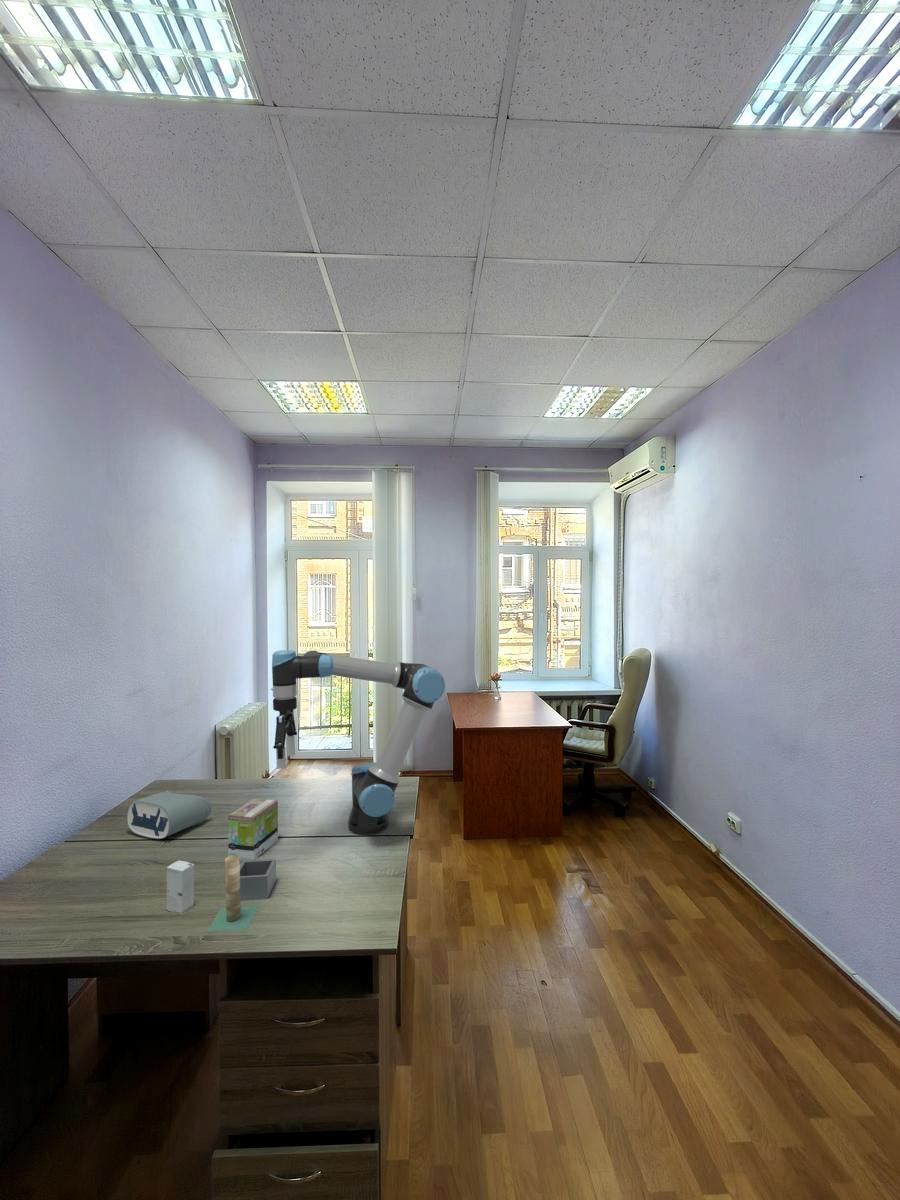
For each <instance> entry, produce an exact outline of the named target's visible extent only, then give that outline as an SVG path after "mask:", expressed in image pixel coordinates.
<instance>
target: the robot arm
mask: <svg viewBox="0 0 900 1200" xmlns="http://www.w3.org/2000/svg"><path fill="white" fill-rule="evenodd" d="M271 659H272V660H271V673H272V674H271V675H272V676H271V678H272V687H271V688H270V690H271V691H272V697H273V700H272V709H273V711H275V712H278V714H279V715H277V716H276V718H275V719H276V720H275V721H276V722H275V723H276V725H275V726H276V727H275V736H274V745H273V749H274V750H276V753H275V754H276V756H275V757H276V769H277V770H278V769H286V768H287V762H286V760H287V756H295V755H296V739H295V737H296V736H297V735H298V731H297V727H296V722H295V715H294V714H295V713H294V710H296V709H297V708H298V703H297V701H298V699H297V697H296V696H297V694H298V692H297V688H298V687H297V679H313V678H326V677H327V678H328V677H331V676H335V677H340V678H341V677H343V678H347V679H348V678H349V679H355V680H362V681H369V682H376V683H382V684H388V685H391V686H392V687H393V688H398V689H402V690H403V693H402V695H401V697H402V700H403V703H402V704H401V708H400V709H399V710H398V711H399V712H398V713H397V715H396V718H395V720H394V723H393V725H392V727H391V729H390V731H389V734H388V735H387V737H386V740H385V742H384V745H383V747H382V748H381V751H380V753H379V755H378V758H377V760H376V762H374V761H373V762H363V763H358V764H355V765H353V767H352V768H351V773H350V775H351V793H352V796H351V797H352V799H351V800H352V801H351V803H352V806H351V807H352V808H351V810H350V814H349V818H348V821H347V828H348V830H349V832H351V833H353V834H357V835H364V836H365V835H368V836H369V835H374V834H377V833H381V832H383V831H385V830H386V829H387V828H388V827H389V825H390V817H389V815H388V813H389V812H390V811H391V810H392V809H393V806H394V805H395V801H396V800H395V798H396V797H395V791H396V789H397V787H398V785H399V782H400V780H399V777H398V774H399V772H400V769H401V768H402V765H403V763H404V761H405V759H406V756H407V754H408V752H409V750H410V747H411V745H412V743H413V741H414V739H415V737H416V734H417V731H418V730H419V728H420V724H421V723H422V721H423V718H424V716H425V714H426V712H428V711H431V710H432V709H433V706H434V705H435V703H436V702H437V701H439V699H441V697H442V696H443V695H444V692H445V689H446V684H445V683H446V681H445V679H444V677H443V675H442V674H441V672H439V670H437V669H436V668H434V667H431V666H428V665H426V664H424V663H414V662H413V663H410V662H400V661H398V662H396V663H391V662H390V663H388V662H384V661H376V660H371V659H365V658H364V659H363V658H357V657H352V656H346V655H339V654H334V653H333V654H332V653H326V652H320V651H317V650H308V651H307V652H305V653H304V654H303V655H297V652H296V651H295V650H294V649H283V650H276V651H273V653H272V658H271ZM285 746H286V747H285Z"/></svg>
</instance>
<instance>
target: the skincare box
mask: <svg viewBox="0 0 900 1200" xmlns="http://www.w3.org/2000/svg"><path fill="white" fill-rule="evenodd" d="M194 901H195V864H194V863H191V862H188V861H183V860H177V861H175V862H173V863H171V864H170V865H168V866H167V867H166V911H167V912H171V913H173V912H176V913H181V914H182V913H184V912H185V911H187V910H188V909H190V908H192V907H193V906H194V904H195V902H194Z"/></svg>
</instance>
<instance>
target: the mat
mask: <svg viewBox="0 0 900 1200" xmlns="http://www.w3.org/2000/svg"><path fill="white" fill-rule="evenodd" d="M258 907H259V905H250V906H241V918H240V919H239V920H237V921H235V922H227V921H226V907H221V908H220V909H219V911H218V912H217V914H216V916H215V917H214V919H213V920H212V922H211V924H210V926H209V928H207V929H208V930H207V933H211V932H221V931H222V932H223V931H237V930H248V928H249V926H250V924H251V922H252V920H253V918H254V915H255V914H256V912H257V910H258Z"/></svg>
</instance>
